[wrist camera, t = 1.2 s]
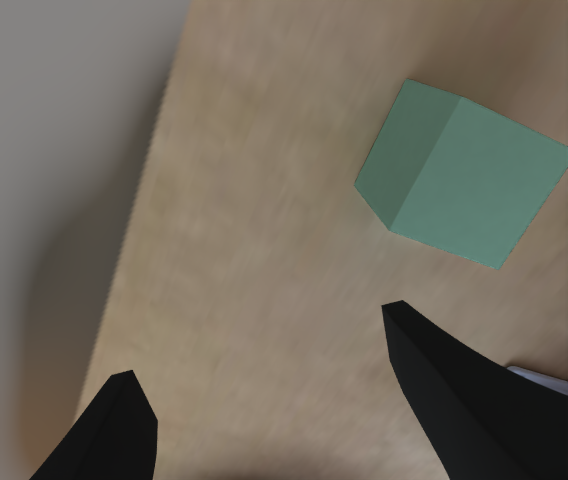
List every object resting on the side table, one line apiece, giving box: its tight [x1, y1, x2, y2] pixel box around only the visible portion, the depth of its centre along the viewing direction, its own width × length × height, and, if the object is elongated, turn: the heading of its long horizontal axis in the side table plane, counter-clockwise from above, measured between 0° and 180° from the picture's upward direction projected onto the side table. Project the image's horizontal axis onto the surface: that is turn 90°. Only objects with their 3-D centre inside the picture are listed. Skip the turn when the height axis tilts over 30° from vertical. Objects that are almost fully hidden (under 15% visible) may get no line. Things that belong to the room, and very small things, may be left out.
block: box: [354, 79, 568, 270], centre depth 18 cm, size 5×5×5 cm
